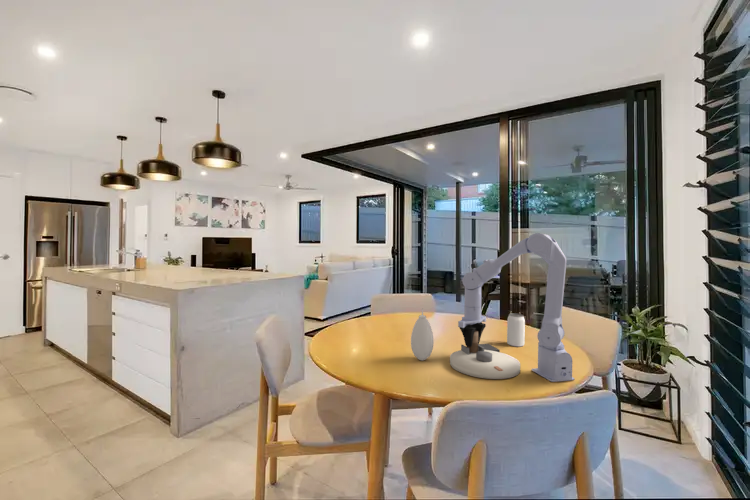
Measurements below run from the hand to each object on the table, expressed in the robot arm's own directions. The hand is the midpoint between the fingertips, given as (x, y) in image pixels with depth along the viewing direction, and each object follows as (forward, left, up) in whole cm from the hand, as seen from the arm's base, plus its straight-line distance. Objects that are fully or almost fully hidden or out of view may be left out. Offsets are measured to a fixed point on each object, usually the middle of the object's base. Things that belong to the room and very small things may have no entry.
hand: (472, 344), depth 121 cm
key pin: (0, 0, -2) cm, 2 cm away
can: (+12, -25, -5) cm, 28 cm away
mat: (+8, -9, -5) cm, 13 cm away
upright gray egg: (+2, +18, -5) cm, 19 cm away
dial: (-8, 0, -5) cm, 10 cm away
